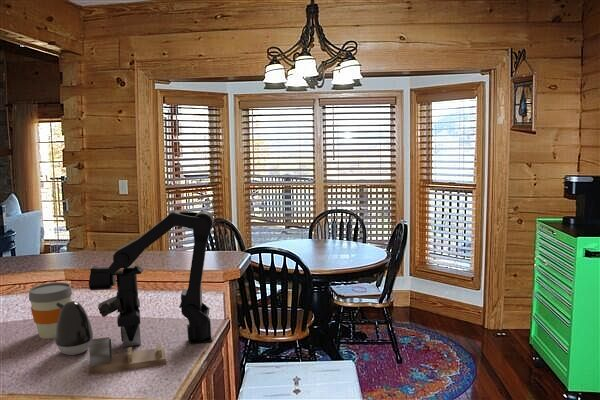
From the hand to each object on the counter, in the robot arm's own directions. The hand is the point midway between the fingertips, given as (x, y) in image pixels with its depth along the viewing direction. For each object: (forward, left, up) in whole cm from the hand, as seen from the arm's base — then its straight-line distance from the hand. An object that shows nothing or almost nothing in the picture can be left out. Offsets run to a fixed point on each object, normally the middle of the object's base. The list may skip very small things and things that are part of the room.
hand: (131, 338), depth 163 cm
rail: (+1, +14, -2) cm, 14 cm away
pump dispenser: (+16, 0, -2) cm, 16 cm away
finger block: (0, 0, -2) cm, 2 cm away
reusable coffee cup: (+24, -18, -2) cm, 30 cm away
